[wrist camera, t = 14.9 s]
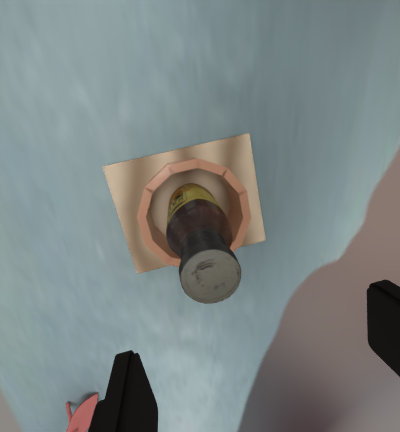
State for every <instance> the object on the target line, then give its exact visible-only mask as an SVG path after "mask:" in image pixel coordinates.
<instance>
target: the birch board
mask: <svg viewBox="0 0 400 432" xmlns="http://www.w3.org/2000/svg"><path fill="white" fill-rule="evenodd" d="M191 157H195V158H199V159H202V160H205V161H208V162H211V163H214V164H217V165H221V166H224V167H227V168H228V169H229V170H230V171H231V172H232V173H233V175H234V176H235V177H236V178H237V179H238V180H239V182H240V183H241V184H242V185H243V186H244V187H245V189H246V190H247V195H248V201H249V207H250V213H251V220H250V223H249V226H248V229H247V231H246V234H245V237H244V239H243V242H242V245H240V246H239V247H242V246H246V245H250V244H254V243H258V242H261V241H265V233H264V227H263V220H262V214H261V207H260V200H259V194H258V187H257V181H256V174H255V167H254V161H253V154H252V148H251V141H250V134H249V133H248V134H243V135H239V136H234V137H230V138H226V139H221V140H217V141H212V142H208V143H204V144H199V145H195V146H190V147H186V148H181V149H177V150H173V151H168V152H164V153H159V154H155V155H151V156H146V157H142V158H137V159H133V160H129V161H124V162H120V163H115V164H111V165H107V166H102V167H103V170H104V173H105V176H106V179H107V182H108V185H109V188H110V192H111V195H112V198H113V201H114V204H115V207H116V210H117V213H118V216H119V219H120V222H121V225H122V228H123V232H124V235H125V238H126V241H127V244H128V247H129V250H130V253H131V256H132V259H133V262H134V265H135V268H136V271H137V274H139V273H143V272H147V271H150V270H154V269H158V268H162V267H166V266H170V265H168V264H166V263H165V262H163V261H162V260H161V259H160V258H159V257H158V256H157V255H156V254H155V253H153V252H152V251H151V250H150V249H149V248H148V247H147V246H146V245H145V243H144V240H143V236H142V233H141V230H140V226H139V223H138V220H137V214H138V210H139V206H140V202H141V199H142V195H143V191H144V188H145V186H146V184H147V182H148V181H149V180H150V179H151V178H152V177H153V176H154V175H155V174H156V173H157V172H158V171H159V170H160V169H161V168H162V167H163V166H164V165H165V164H167V163H169V162H173V161H178V160H182V159H187V158H191ZM188 183H194V184H198V185H200V186H203V187H204V188H206V189H207V190H208V191H209V192H210V193H211V194H212V196H213V197H214V199H215V200H216V201H217V203H218V204H219V206H220V207H221V208H222V210H223V211H224V213H225V215H226V217H227V216H228V213H229V210H230V208H231V206H230V201H229V196H228V190H227V187H226V186H225V184H224V183H223V182H222V181H221V180H220V179H219V178H218V176H217V175H216V174H215V173H213V172H210V171H207V170H204V169H200V168H195V169H191V170H186V171H182V172H178V173H174V174H171V175H170V176H169V177H168V178H167V179H166V180H165V181H164V182H163V183H162V184H161V185H160V186H159V187H158V188H157V189H156V190H155V191H153V194H152V198H151V201H150V205H149V207H150V210H151V214H152V218H153V221H154V225H155V227H156V228H158V229H159V230H160V231H161V232H162V233H163V234H164V235H165V236H166V227H167V217H168V207H169V201H170V198H171V196H172V194H173V193H174V192H175V191H176V190H177V188H179V187H181V186H183V185H185V184H188Z"/></svg>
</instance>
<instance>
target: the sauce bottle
mask: <svg viewBox="0 0 400 432" xmlns="http://www.w3.org/2000/svg"><path fill="white" fill-rule="evenodd" d="M166 239H167V243H168V245H169V247H170V248H171V249H172V251H173V252H175V253H176V254H177V255H178V256H179V257H180V259H181V261H180V265H179V275H180V281H181V285H182V288H183V289H184V291H185V293H186V294H187V295H188V296H189V297H191V298H192V299H194V300H195V301H197V302H201V303H217V302H220V301H223V300H224V299H226V298H228V297H230V296H231V295H232V294H233V293H234V292H235V290H236V289H237V287H238V286H239V283H240V278H241V268H240V265H239V263H238V260H237V258H236V257H235V255H234V253H233V252H232V250H231V249H230V246H231V245H232V240H233V237H232V229H231V225H230V223H229V221H228V219H227V217H226V215H225V213H224V211H223V210H222V208H221V207H220V206H219V204H218V203H217V201H216V200H215V199H214V197H213V196H212V194H211V193H210V192H209V191H208V190H207V189H206V188H204V187H203V186H200V185H198V184H194V183H188V184H185V185H183V186H181V187H179V188H177V190H176V191H175V192H174V193H173V194H172V196H171V198H170V201H169V207H168V217H167V227H166Z"/></svg>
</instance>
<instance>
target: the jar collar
mask: <svg viewBox="0 0 400 432" xmlns="http://www.w3.org/2000/svg"><path fill="white" fill-rule="evenodd" d="M195 168H200V169H204V170H207V171H210V172H213V173H215V174H216V175H217V176H218V178H219V179H220V180H221V181H222V182H223V183H224V184H225V186H226V187H227V190H228V196H229V201H230V206H231V208H230V210H229V213H228V216H227V219H228V221H229V223H230V225H231V229H232V237H233V240H232V245H231V246H230V249H231V250H232V252H234V251H235V250H236V249H237V248H238V247H239V246H240V245H242V242H243V239H244V237H245V234H246V231H247V229H248V226H249V223H250V220H251V213H250V207H249V201H248V195H247V190H246V189H245V187H244V186H243V185H242V184H241V183H240V182H239V180H238V179H237V178H236V177H235V176H234V175H233V173H232V172H231V171H230V170H229V169H228V168H227V167H224V166H221V165H217V164H214V163H211V162H208V161H205V160H202V159H199V158H195V157H191V158H187V159H182V160H178V161H173V162H169V163H167V164H165V165H164V166H163V167H162V168H161V169H160V170H159V171H158V172H157V173H156V174H155V175H154V176H153V177H152V178H151V179H150V180H149V181H148V182H147V184H146V186H145V188H144V191H143V195H142V199H141V202H140V206H139V210H138V214H137V220H138V223H139V226H140V230H141V233H142V236H143V240H144V243H145V245H146V246H147V247H148V248H149V249H150V250H151V251H152V252H153V253H155V254H156V255H157V256H158V257H159V258H160V259H161V260H162V261H163V262H165V263H166V264H168V265H173V266H177V267H179V265H180V261H181V259H180V257H179V256H178V255H177V254H176V253H175V252H173V251H172V249H171V248H170V247H169V245H168V243H167V239H166V236H165V235H164V234H163V233H162V232H161V231H160V230H159V229H158V228H156V227H155V225H154V221H153V218H152V214H151V210H150V207H149V205H150V201H151V198H152V194H153V191H155V190H156V189H157V188H158V187H159V186H160V185H161V184H162V183H163V182H164V181H165V180H166V179H167V178H168V177H169V176H170V175H171V174H174V173H178V172H182V171H186V170H191V169H195Z"/></svg>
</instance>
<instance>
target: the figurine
mask: <svg viewBox="0 0 400 432" xmlns="http://www.w3.org/2000/svg"><path fill="white" fill-rule="evenodd" d="M97 400H98V393H97V394H95V395H93V396H91V397H90V398H88V399H87V400H85V401H84V402H83V403H82V404H81V405H80V406H79V407H78V408H77V409H76V410H75V412H74V414H73V416H72V413H71V408H70V403H69V402H67V403H66V408H67V414H68V419H69V426H68V429H67V432H86V431H87V429H88V428H89V426H90V423H91V419H92V416H93V412H94V409H95V406H96V404H97Z"/></svg>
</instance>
